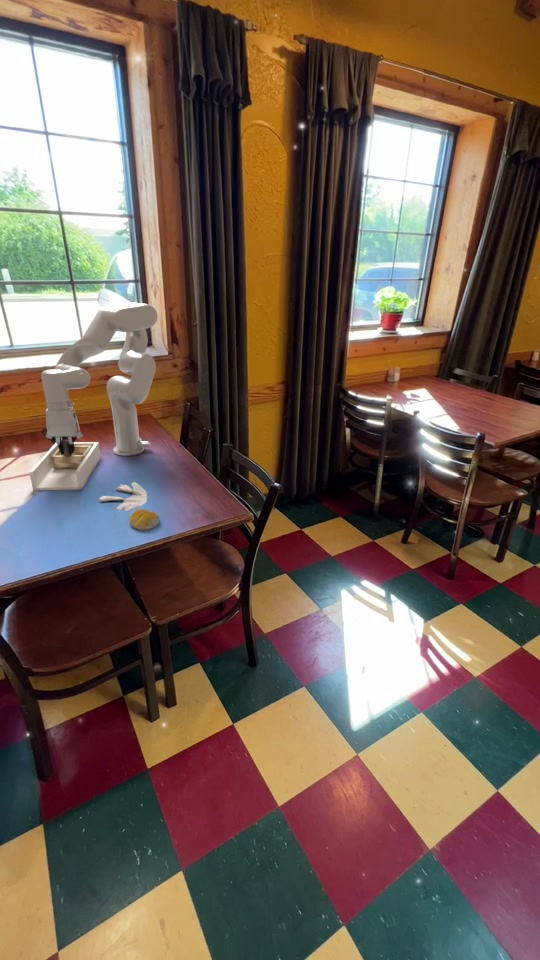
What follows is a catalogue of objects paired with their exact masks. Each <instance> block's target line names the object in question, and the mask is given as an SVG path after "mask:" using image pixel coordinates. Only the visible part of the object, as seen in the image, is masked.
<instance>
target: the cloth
mask: <svg viewBox="0 0 540 960" xmlns="http://www.w3.org/2000/svg"><path fill="white" fill-rule="evenodd" d="M131 486H132V488H131V487H130V486H129V485H127V484H122V483H121V484H119V486H117V487H116V491H119V492H121V493H127V494H129V495H131V496H129V497H125V498H124V497H121V496H113V495H102V496H101V497H99V503H106V502H107V503H108V502H121V504H119V505H118V506H116V510H120V511H122V510H125V512H128V511H132V510H134V509H137V508H140V507H142V506H143V505H146V504H147V501H148V495H147V492H146V490H145V489H144V488H143V486H141V485H140V484H139V483H137V482H136V481H134V482H132V483H131Z"/></svg>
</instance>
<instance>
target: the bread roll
mask: <svg viewBox="0 0 540 960" xmlns="http://www.w3.org/2000/svg"><path fill="white" fill-rule="evenodd" d="M159 523H160V516H159V514H158V513H155V512H153V511H150V510H148V509H144V508H143V509H138V510H137V509H136V510H135V511H134V512H132V514H130V516H129V524H130V526H131V528H134V529H135V528H136V529H137V530H141V531H146V530H147V531H148V530H151V529H153V528H155V527H157V526H158V525H159Z"/></svg>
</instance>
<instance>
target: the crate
mask: <svg viewBox="0 0 540 960" xmlns="http://www.w3.org/2000/svg"><path fill="white" fill-rule="evenodd" d="M68 444H69V440H63V441H62V445H63V450H64V454H63V455H61V452H59V448H58V449H57V450H56V451H55V453H54V454H53V455H52V456H51V459H52V464H53V469H76V468H78V467H79V465H80V464H81V463H82V461H83V460H84V458H85V457H86V455H87V454H88V452H89V451H90V449H91V448H92V445H90V446H74V447H75V451H74V452H73V454H70V453H69V448H68Z"/></svg>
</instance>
